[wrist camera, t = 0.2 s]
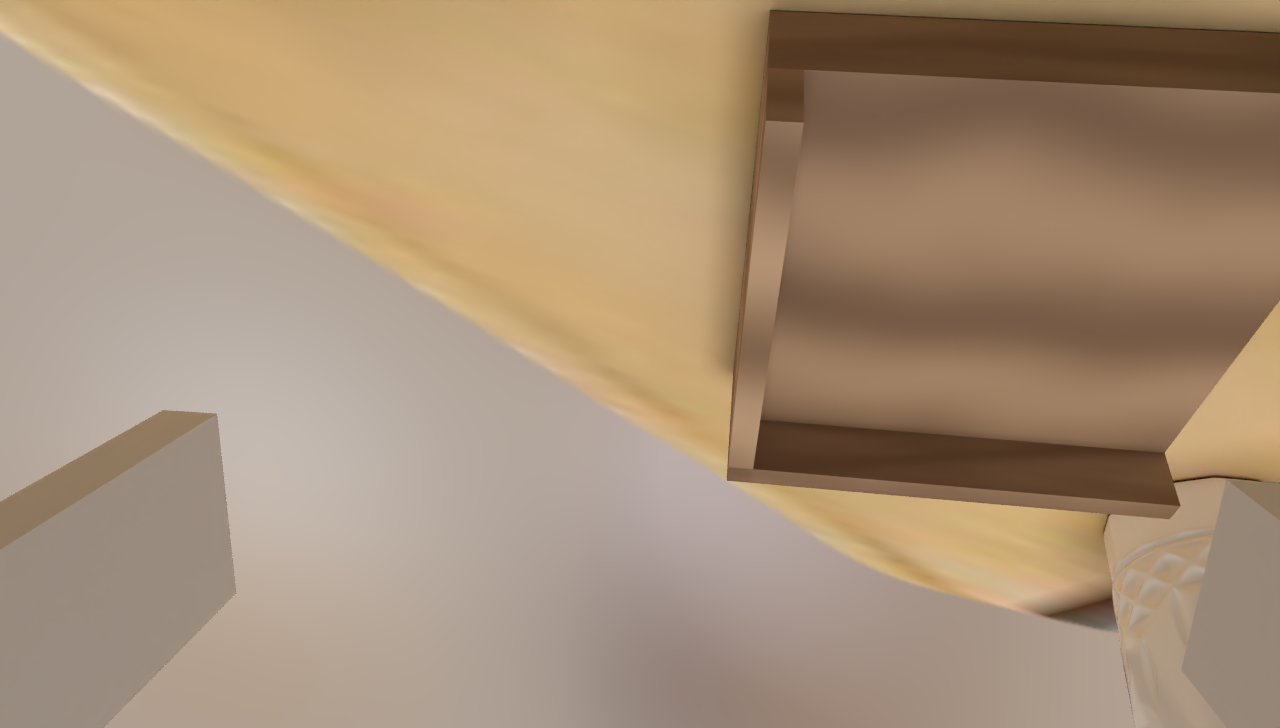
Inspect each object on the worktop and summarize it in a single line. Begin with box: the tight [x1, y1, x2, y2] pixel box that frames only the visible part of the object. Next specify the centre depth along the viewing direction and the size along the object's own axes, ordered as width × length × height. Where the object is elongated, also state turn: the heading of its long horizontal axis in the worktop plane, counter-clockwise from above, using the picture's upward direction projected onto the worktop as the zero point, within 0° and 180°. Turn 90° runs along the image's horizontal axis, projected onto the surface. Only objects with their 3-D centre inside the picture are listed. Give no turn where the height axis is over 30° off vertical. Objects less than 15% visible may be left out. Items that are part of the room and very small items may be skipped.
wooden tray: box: [727, 11, 1280, 519], centre depth 25 cm, size 14×14×4 cm
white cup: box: [1103, 478, 1250, 728], centre depth 33 cm, size 8×8×10 cm
